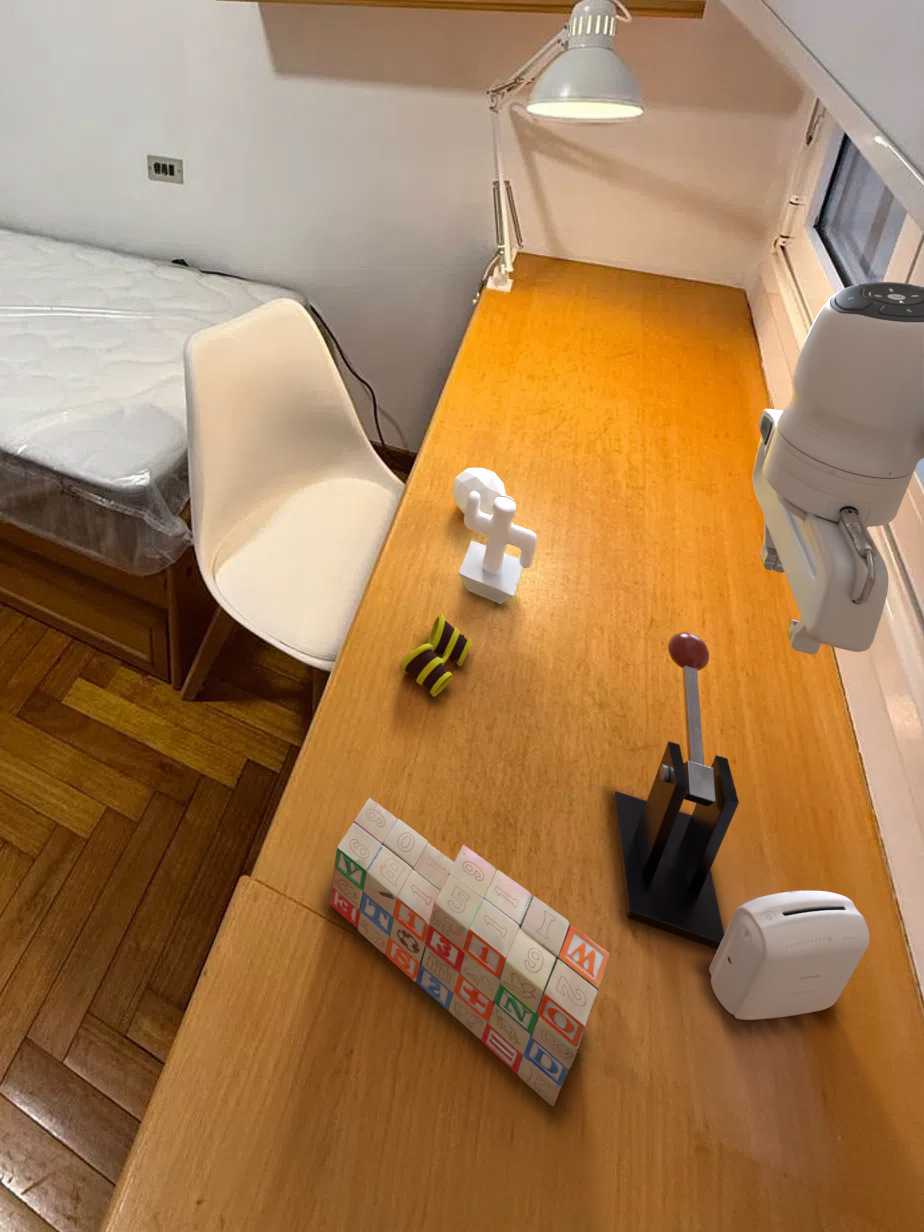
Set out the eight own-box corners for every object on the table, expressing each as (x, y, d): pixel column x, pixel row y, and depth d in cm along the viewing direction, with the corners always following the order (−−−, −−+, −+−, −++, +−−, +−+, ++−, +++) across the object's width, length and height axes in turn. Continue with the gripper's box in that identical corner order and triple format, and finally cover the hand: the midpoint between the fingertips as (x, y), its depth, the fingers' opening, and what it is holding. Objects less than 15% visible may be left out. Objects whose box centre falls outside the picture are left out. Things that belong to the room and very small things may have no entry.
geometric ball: (458, 525, 131) (433, 481, 131) (496, 496, 133) (471, 453, 133) (487, 536, 124) (460, 490, 124) (526, 505, 126) (500, 460, 126)
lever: (662, 634, 89) (673, 622, 86) (701, 644, 88) (712, 632, 85) (671, 797, 79) (682, 789, 77) (714, 810, 78) (727, 803, 76)
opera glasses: (431, 708, 100) (445, 684, 97) (394, 676, 103) (406, 652, 100) (467, 658, 107) (481, 634, 104) (431, 628, 109) (443, 605, 107)
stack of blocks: (326, 906, 80) (338, 824, 75) (360, 854, 84) (373, 773, 79) (555, 1110, 67) (586, 1026, 62) (581, 1036, 71) (612, 952, 66)
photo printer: (731, 1028, 72) (774, 945, 67) (697, 968, 76) (735, 885, 71) (841, 1014, 73) (891, 931, 68) (802, 956, 77) (847, 873, 72)
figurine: (517, 619, 111) (538, 532, 105) (446, 589, 116) (462, 504, 110) (528, 584, 117) (548, 499, 111) (460, 556, 121) (476, 473, 116)
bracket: (612, 797, 90) (644, 701, 84) (696, 824, 87) (735, 727, 81) (627, 918, 79) (665, 818, 74) (723, 952, 77) (770, 851, 71)
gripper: (935, 574, 57) (872, 717, 62) (840, 414, 75) (796, 536, 80) (825, 549, 59) (772, 689, 65) (757, 399, 77) (720, 519, 82)
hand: (785, 603), depth 72 cm, fingers open, 8 cm apart
